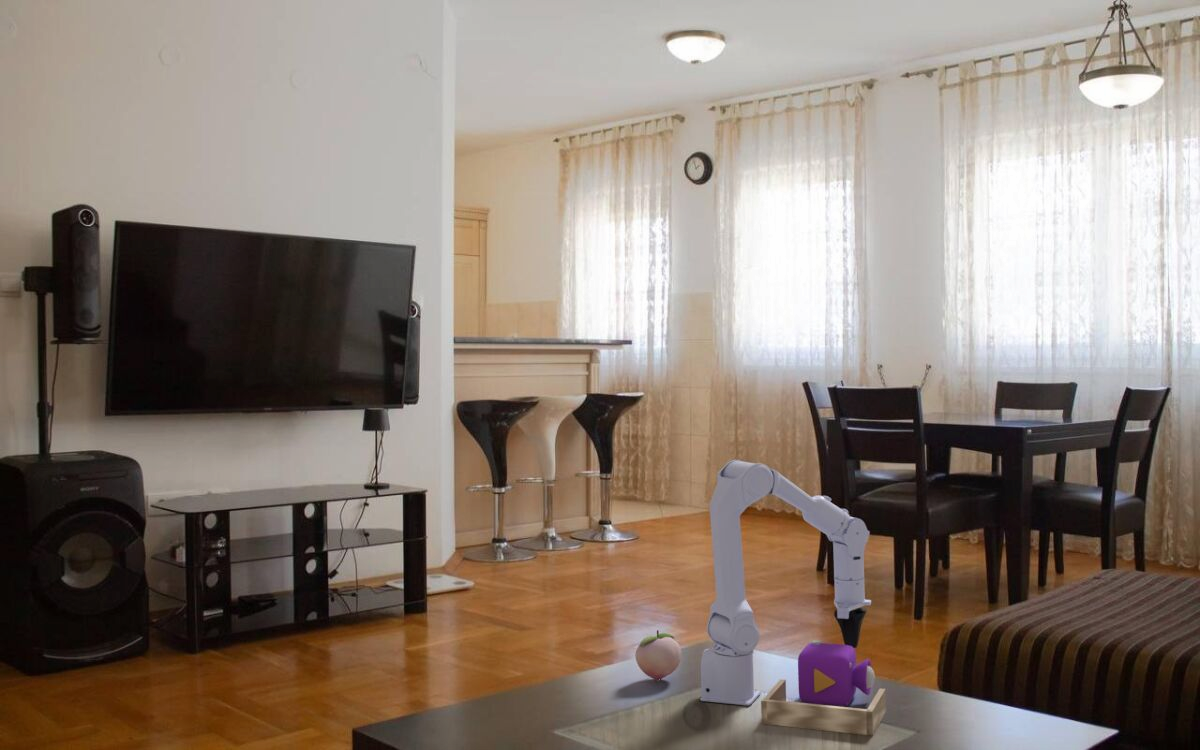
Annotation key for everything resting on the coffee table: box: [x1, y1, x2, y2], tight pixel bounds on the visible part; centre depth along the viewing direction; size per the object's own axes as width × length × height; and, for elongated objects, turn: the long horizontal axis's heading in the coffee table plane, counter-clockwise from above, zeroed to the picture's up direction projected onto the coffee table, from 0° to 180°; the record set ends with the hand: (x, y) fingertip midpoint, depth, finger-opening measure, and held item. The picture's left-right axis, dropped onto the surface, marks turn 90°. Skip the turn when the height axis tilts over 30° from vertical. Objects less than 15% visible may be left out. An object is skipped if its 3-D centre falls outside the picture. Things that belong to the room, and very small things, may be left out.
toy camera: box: [797, 639, 876, 707], centre depth 205 cm, size 11×14×10 cm
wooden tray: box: [760, 679, 887, 736], centre depth 195 cm, size 19×13×4 cm
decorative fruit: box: [634, 629, 682, 681], centre depth 220 cm, size 9×8×10 cm
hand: (851, 646), depth 217 cm, fingers closed
